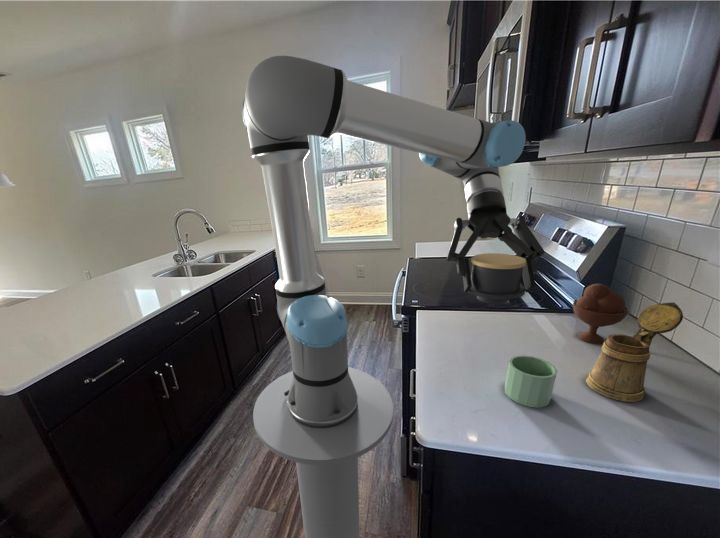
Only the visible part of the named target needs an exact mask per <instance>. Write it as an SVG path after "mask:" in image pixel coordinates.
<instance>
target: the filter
mask: <svg viewBox="0 0 720 538" xmlns="http://www.w3.org/2000/svg"><path fill="white" fill-rule="evenodd" d="M470 262H471V263H472V264H471V271H470V275H471V283H472V287H471V289H470V290H469V292H468V294H470V295H473V296H475V297H476V299H477V300H478V301H480V302H482V303H485V304H491V305H502V304H506V303H508V302H509V300H515V299H519V298H522V297H524V296H525V293H526V291H525V286H523V285H522V284H521V283H522V278H523V276H522V272H523V267H524V266H525V265H526V260H525V259H524V258H522V257H519V256H518V255H516V254H515V255H514V254H508V253H496V252H494V253H491V252H489V253H479V254H478V253H477V254H474V255H473V256H471V259H470Z"/></svg>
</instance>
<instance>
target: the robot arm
mask: <svg viewBox="0 0 720 538" xmlns="http://www.w3.org/2000/svg"><path fill="white" fill-rule="evenodd" d="M345 73H346V72H345V71H344V70H342V69H339V68H336V67H333V66H330V65H327V64H324V63H320V62H317V61H313V60H309V59H306V58H302V57H296V56H291V55H274V56H270V57H268V58H265V59H264V60H262V61H260V62H259V63H258V64H257V65H256V66H255V67H254V68H253V70H251V73H250V74H249V77H248V79H247V82H246V86H245V94H244V98H243V101H242V109H241V114H242V121H243V125H244V126H245V130H246V132H247V135H248V143H249V147H250V152H251V158H252V159H253V160H254V161H255V162H256V163H258V164H259V165H260V167H261V172H262V178H263V184H264V189H265V196H266V202H267V208H268V213H269V219H270V225H271V226H270V227H271V232H272V237H273V243H274V248H275V255H276V261H277V267H278V273H279V279H278V280H277V282H276V283H275V284H274V289H275V294H276V295H275V296H276V300H277V301H276V310H277V316H278V319H279V320H280V321H281V324H282V327H283V329H284V332H285V336H286V337H287V341H288V345H289V350H290V357H291V358H290V359H291V367H292V371H293V379H292V383H291V387H290V390H288V391H286V392H284V395H285V396H287V395H288V409H289V412H290V415H291V416H292V417H293V418H294V419H295V420H296V421H297V422H299V423H300V424H303V425H305V426H308V427H313V428H329V427H333V426H337V425H340V424H342V423H344V422H346V421H347V420H348V419H350V418H351V417H352V416H353V414H354V413H355V411H356V409H357V405H358V399H357V392H356V389H355V387H354V384H353V382H352V380H351V377H350V375H349V373H348V367H349V356H348V355H349V353H348V350H349V349H348V326H349V325H348V318H347V311H346V309H345V307H344V305H343V303H341V302H340V301H339V300H338V299H336V298H333V297H328V296H327V291H326V283H325V278H324V277H323V276H322V275H320V274H319V273H318V271H317V262H316V253H315V245H314V237H313V236H314V235H313V230H312V229H313V228H312V219H311V214H310V213H311V211H310V204H309V203H310V202H309V196H308V188H307V179H306V171H305V163H304V162H305V159H306V158H307V156H308V155H309V153H310V152H311V150H310V148H311V147H310V141H309V140H310V139H309V136H315V137H320V138H324V139H330V138H332V137H333V136H334V135H336V134H337V135H341V136H346V137H350V138H354V139H357V140H362V141H367V142H371V143H376V144H380V145H385V146H387V147H393V148H396V149H401V150H406V151H410V152H414V153H418V156H419V159H420V160H421V162H423V163H424V164H426V165H428V166H429V167H430V168H434V169H436V170H438V171H441V172H443V173H446V174H448V175H450V176H452V177H454V178H456V179H458V180H461V181H462V183H463V187H464V188H463V189H464V195H465V202H466V211H467V219H462V217H457V218H456V219H455V222H454V224H453V230H454V234H453V237H452V240H451V244H450V246H449V249H448V253H447V256H446V261H447V262H454V265H455V266H456V273H457V276H458V277H462V282H463V291H464V293H469V290H470V289H471V287H472V283H471V267H470V260H469V259H470V258H469V257H466V256H467V255H468V253H469V251H470V250H471V249H472V247H473V245H474V244H475V243H476V241H477V240H478V238H480V239H488V238H489V239H490V238H491V239H498V240H499V241H500V242H503V243H504V244H506V246H507V247H509V248H510V250H511V251H513V252H514V253H515V255H516V256H519V257H522V258H524V259H525V260H526V265H525V266H524V267H523V272H522V281H523V285H524V286H523V287H524V288H525V293H530V292H532V291H533V290H534V289H535V288H536V287H537V285H536V284H537V283H536V279H535V275H536V274H537V272H538V267H537V263H536V261H538V260H539V259H540V258H541V257H542V256H543V255H544V254H545V249H544V248H543V246H542V245H541V244H540V242H539V241H538V239H537V238H536V236H535V235H534V233H533V232H532V231H531V229H530V227H529V226H528V225H527V221H526V216H524V215H519V216H518V218H517V217H514V218H512V217H511V218H510V216H509V215H508V213H507V205H506V199H505V196H504V189H503V184H502V179H501V176H500V170H499V168H501V167H508V166H510V165H512V164H514V163H515V162H516V161H517V160H518V159H519V158H520V156H521V155H522V153H523V152H524V149H525V144H526V131H525V129H524V127H523V125H522V124H521V123H520V122H519V121H517V120H512V119H511V120H499V121H497V122H490V121H488V120H483V119H479V118H475V117H472V116H469V115H466V114H462V113H458V112H455V111H452V110H448V109H445V108H442V107H438V106H436V105H431V104H428V103H425V102H421V101H418V100H415V99H412V98H408V97H405V96H402V95H398V94H395V93H391V92H389V91H385V90H382V89H378V88H374V87H372V86H369V85H364V84H362V83H358V82H355V81H351V80H349V79H348V78H347V76H346V74H345ZM510 226H511V227H510ZM466 227H467V228H468V229H469V230H470V231H471V232H472V233H471V235H470V236H469V237H468V239H467V240H466V242H465V244H464V245H463V247H462V248H461V250H460V251H459V252H456V251H457V248H458V245H459V242H460V239H461V235H462V232H463V231H464V230H465V229H466ZM513 230H514V232H515V233H516V234H515V233H514V232H513Z"/></svg>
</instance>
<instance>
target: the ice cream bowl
mask: <svg viewBox="0 0 720 538" xmlns="http://www.w3.org/2000/svg"><path fill="white" fill-rule="evenodd" d="M582 295H583V296H580V297H579V298H578V299H574V300H573V303H572V310H573V314H574V315H575V316H576V317H577V318H578V319H579V320H580V321H581V322H583V323H584V324H586V325H588V330H587V331H584V332H579V333H578V334H577V338H578V339H579V340H581V341H583V342H586V343H589V344H597V345H598V344H604V337H603V336H601V335H599V334H598V333H597V332H598V329H599V328H602V327H603V328H604V327H609V326H613V325H616V324H618V323H620V322H622V321H623V320H624V319H625V318H626V316H627V315H628V313H629V311H628V307H626V301H625V298H624V297H623V296H622V295H621V294H619V293H617V292H615V291H612V290H611V288H610V287H609V286H608V285H606V284H602V283H593V284H590V285H587V286H586V288H585V289H584V291H583V294H582Z"/></svg>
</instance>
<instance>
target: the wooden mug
mask: <svg viewBox="0 0 720 538" xmlns="http://www.w3.org/2000/svg"><path fill="white" fill-rule="evenodd" d="M683 319H684V313H683V310H682V309H681V307H679V305H678V304H676V303H675V301H674V302H673V301H672V302H661V303H656V304H652V305H650V306H647V307H646V308H644V309H643V310H642V311H641V313H640V314H639V316H638V317H637V321H636V322H637V325H638V328H639V329H638V331H637V332H636V333H634V335H632V336H631V335H626V334H621V333H613V334H610V335H608V337H607V339H605V340H604V341H603V343H602V346H601V351H600V354H599V355H598V358H597V359H596V362H595V364H594V366H593V368H592V370H590V371H589V373H588V376H587V378H586V379H585V383H586V385H588V386H589V388H590V389H592V390H593V391H595V392H596V393H598V394H600V395H602V396H604V397H606V398H610V399H613V400H615V401H621V402H626V403H636V402H639V401H641V400H643V399H644V396H645V391H646V388H645V379H646V371H647V365H648V361H649V360H650V358H651V351H650V347H651V344H652V342H653V339H654V338H655V337H656V336H657V335H659V334H660V335H661V334H665V333H669V332H672V331H673V330H675V329H676V328H677V327H679V325H680V324H681V323H682V321H683Z"/></svg>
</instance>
